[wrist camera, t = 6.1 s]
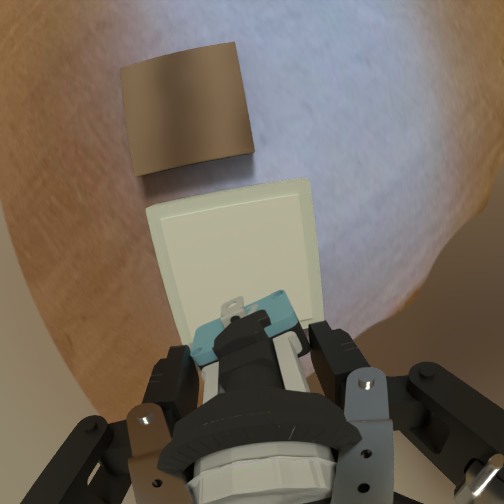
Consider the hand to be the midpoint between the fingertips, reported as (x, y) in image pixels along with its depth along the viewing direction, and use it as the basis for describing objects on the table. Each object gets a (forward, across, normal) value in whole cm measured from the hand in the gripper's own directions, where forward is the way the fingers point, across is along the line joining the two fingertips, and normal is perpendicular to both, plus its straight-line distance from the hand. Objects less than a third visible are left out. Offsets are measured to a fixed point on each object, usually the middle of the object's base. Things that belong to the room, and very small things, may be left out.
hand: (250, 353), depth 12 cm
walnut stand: (+13, +2, -13) cm, 19 cm away
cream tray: (+13, 0, 0) cm, 13 cm away
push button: (+3, +1, 0) cm, 3 cm away
